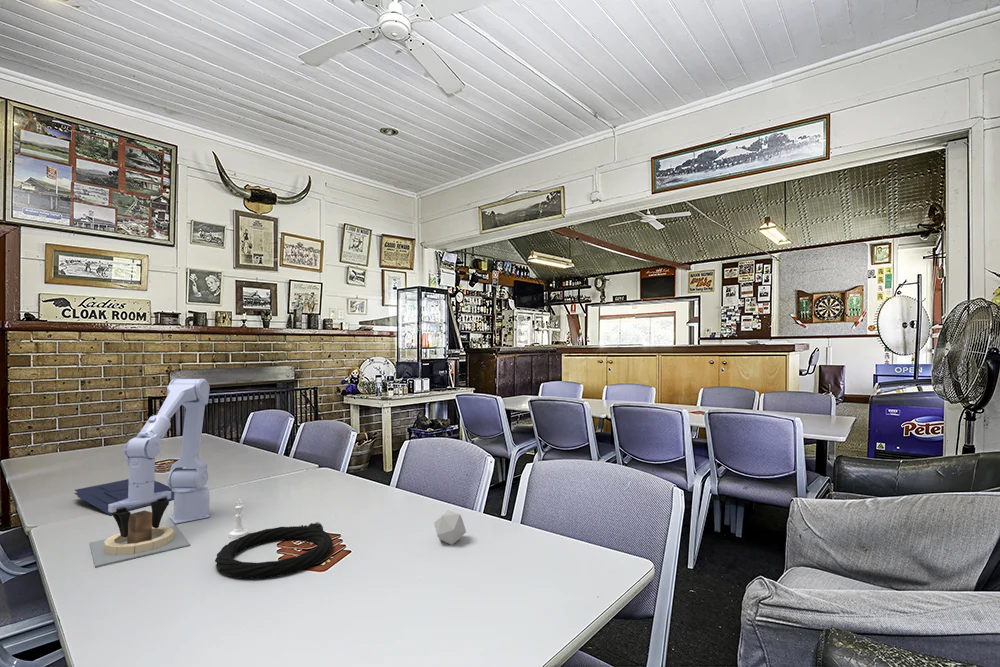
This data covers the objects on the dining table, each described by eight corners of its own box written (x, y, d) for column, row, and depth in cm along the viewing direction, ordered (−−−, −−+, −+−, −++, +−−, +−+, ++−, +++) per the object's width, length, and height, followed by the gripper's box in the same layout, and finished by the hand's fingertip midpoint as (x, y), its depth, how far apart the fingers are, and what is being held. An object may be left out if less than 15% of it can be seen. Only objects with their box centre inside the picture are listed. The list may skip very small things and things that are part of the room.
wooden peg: (143, 539, 137) (144, 510, 137) (151, 542, 135) (152, 512, 135) (127, 544, 134) (128, 514, 134) (135, 547, 132) (135, 516, 132)
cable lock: (187, 556, 119) (280, 516, 147) (187, 572, 119) (280, 529, 147) (279, 573, 110) (359, 527, 138) (279, 590, 110) (359, 541, 138)
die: (472, 543, 137) (467, 509, 143) (458, 537, 130) (454, 502, 136) (445, 552, 139) (442, 517, 145) (431, 546, 132) (428, 510, 138)
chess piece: (240, 538, 139) (240, 502, 139) (224, 537, 140) (225, 501, 140) (252, 532, 144) (252, 497, 144) (237, 531, 145) (238, 496, 145)
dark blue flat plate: (143, 482, 193) (144, 473, 193) (187, 503, 179) (188, 493, 179) (66, 499, 172) (67, 488, 172) (108, 523, 158) (109, 512, 157)
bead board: (175, 526, 148) (176, 518, 148) (190, 545, 134) (190, 536, 134) (89, 543, 135) (89, 535, 135) (95, 567, 120) (95, 557, 120)
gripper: (162, 473, 143) (160, 521, 143) (103, 485, 130) (101, 537, 130) (175, 476, 140) (174, 525, 139) (116, 489, 127) (115, 542, 127)
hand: (140, 531), depth 134 cm, fingers open, 7 cm apart
